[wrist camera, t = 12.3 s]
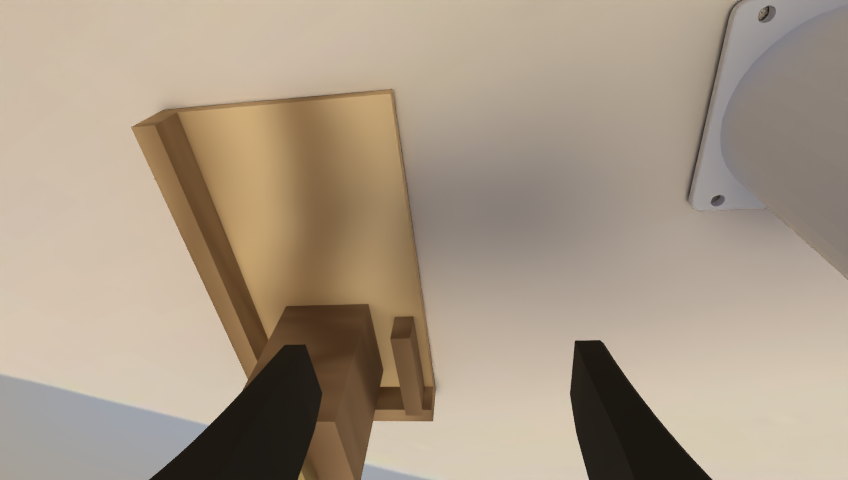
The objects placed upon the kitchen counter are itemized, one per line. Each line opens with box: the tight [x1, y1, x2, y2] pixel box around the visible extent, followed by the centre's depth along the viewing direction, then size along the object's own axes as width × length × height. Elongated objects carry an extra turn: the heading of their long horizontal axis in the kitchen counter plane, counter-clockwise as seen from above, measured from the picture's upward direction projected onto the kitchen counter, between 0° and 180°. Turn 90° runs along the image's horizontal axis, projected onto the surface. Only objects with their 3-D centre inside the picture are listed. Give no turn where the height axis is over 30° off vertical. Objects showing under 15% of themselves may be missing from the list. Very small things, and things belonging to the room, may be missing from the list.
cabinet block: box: [243, 304, 383, 480], centre depth 22 cm, size 4×5×8 cm
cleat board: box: [131, 90, 436, 421], centre depth 23 cm, size 10×18×2 cm, turn 6°
